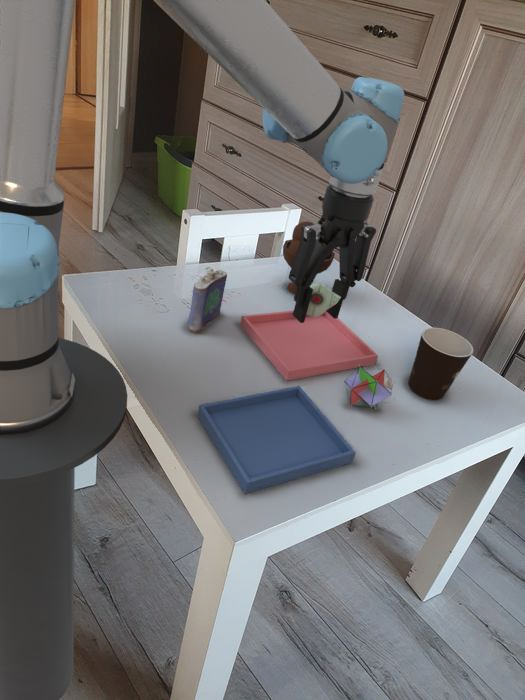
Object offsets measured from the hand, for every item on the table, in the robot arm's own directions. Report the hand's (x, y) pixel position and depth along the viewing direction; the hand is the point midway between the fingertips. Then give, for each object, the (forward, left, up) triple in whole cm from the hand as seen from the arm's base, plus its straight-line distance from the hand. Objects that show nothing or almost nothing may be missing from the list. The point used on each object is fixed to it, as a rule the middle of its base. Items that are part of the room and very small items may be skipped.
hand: (315, 316), depth 97 cm
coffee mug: (+16, -17, -6) cm, 24 cm away
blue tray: (-19, -20, -6) cm, 28 cm away
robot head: (-1, 0, 0) cm, 1 cm away
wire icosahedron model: (0, -17, -6) cm, 18 cm away
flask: (-16, +11, -6) cm, 20 cm away
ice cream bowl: (+10, +19, -6) cm, 22 cm away
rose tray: (0, 0, -6) cm, 6 cm away
